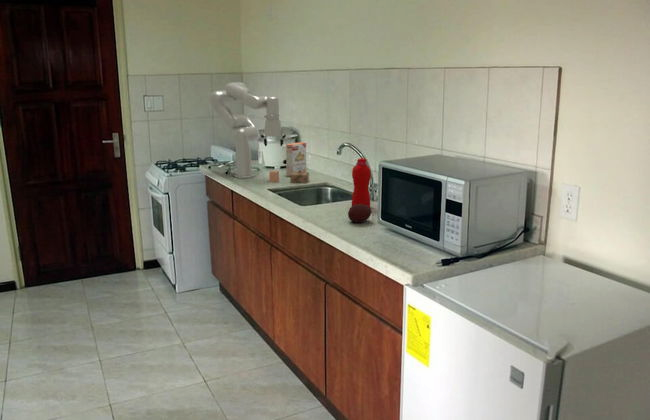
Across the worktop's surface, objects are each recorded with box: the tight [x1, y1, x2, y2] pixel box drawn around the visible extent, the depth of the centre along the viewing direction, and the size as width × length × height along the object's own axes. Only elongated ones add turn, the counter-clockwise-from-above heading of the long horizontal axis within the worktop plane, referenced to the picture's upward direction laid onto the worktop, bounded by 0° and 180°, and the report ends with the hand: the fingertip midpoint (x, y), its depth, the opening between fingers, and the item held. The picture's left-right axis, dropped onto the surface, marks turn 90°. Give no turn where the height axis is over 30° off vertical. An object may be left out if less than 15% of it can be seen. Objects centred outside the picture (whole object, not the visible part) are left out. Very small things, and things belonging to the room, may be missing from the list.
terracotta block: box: [269, 170, 280, 183], centre depth 330 cm, size 5×5×6 cm
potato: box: [347, 204, 372, 224], centre depth 241 cm, size 12×11×8 cm
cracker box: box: [285, 141, 307, 177], centre depth 346 cm, size 14×6×21 cm, turn 143°
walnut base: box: [289, 171, 310, 184], centre depth 328 cm, size 10×10×5 cm
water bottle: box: [348, 157, 372, 209], centre depth 263 cm, size 9×11×25 cm
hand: (273, 145), depth 325 cm, fingers open, 9 cm apart
